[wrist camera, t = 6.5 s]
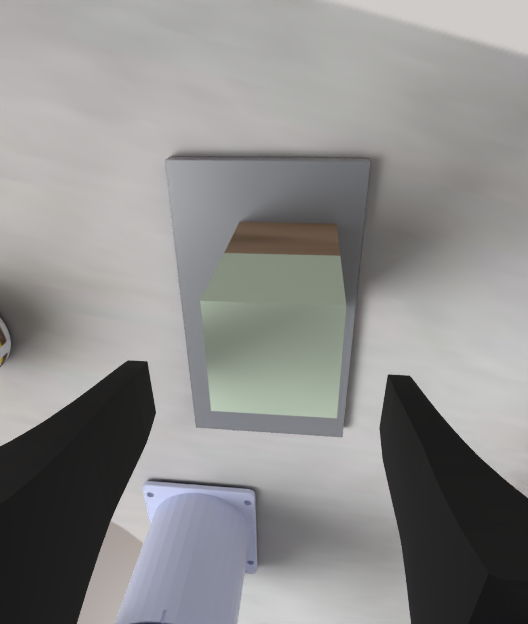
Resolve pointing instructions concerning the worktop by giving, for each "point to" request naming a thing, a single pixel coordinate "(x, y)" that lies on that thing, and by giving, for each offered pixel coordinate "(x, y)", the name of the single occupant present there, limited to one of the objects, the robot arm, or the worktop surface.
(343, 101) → the worktop surface
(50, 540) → the robot arm
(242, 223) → the walnut block
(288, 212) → the baseplate
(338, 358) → the green block
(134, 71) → the worktop surface
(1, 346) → the supplement bottle
